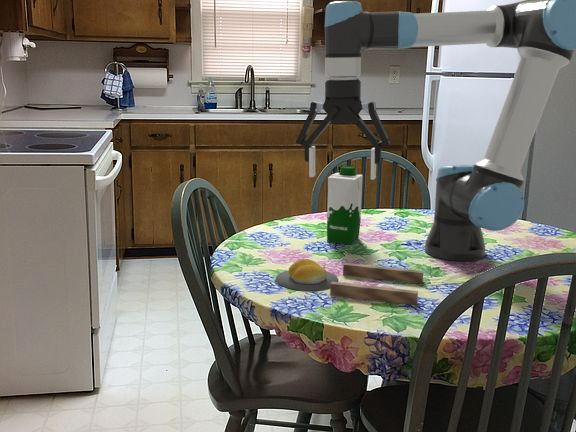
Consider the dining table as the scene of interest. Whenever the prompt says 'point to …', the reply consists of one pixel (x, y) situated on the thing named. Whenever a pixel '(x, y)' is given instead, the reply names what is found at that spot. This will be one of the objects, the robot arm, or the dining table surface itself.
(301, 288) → the mat
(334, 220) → the milk carton
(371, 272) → the chute
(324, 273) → the bread roll
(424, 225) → the dining table surface
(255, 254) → the dining table surface
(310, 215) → the dining table surface
